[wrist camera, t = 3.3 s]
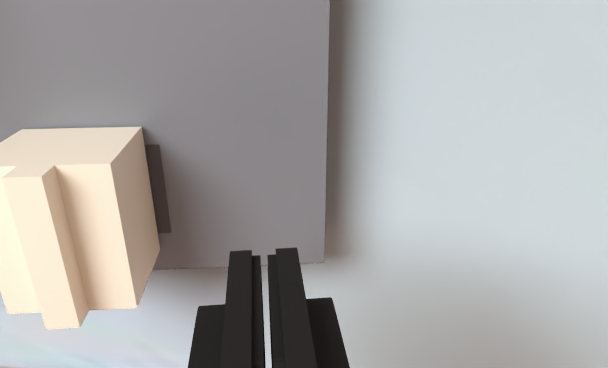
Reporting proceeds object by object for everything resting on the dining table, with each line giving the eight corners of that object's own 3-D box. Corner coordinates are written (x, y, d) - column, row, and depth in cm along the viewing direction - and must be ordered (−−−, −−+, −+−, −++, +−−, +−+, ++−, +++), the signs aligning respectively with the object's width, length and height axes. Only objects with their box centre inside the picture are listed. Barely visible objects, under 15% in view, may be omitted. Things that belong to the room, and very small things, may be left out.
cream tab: (141, 126, 16) (100, 174, 12) (160, 249, 18) (130, 324, 14) (21, 129, 16) (-61, 179, 12) (54, 253, 18) (-6, 331, 14)
